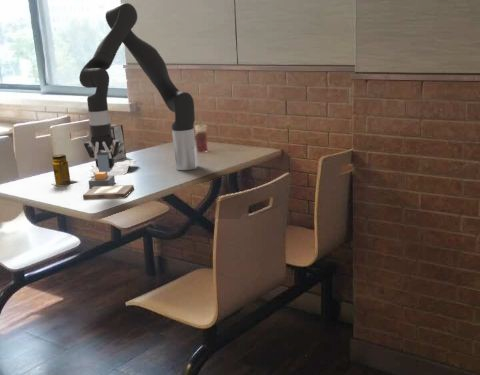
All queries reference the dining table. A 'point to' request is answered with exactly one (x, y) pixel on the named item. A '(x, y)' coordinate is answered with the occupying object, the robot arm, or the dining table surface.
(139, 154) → the dining table surface
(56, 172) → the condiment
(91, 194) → the drawing board
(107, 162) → the grey rectangular box
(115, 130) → the coffee box
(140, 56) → the robot arm
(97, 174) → the button
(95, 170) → the paper
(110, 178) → the button housing
